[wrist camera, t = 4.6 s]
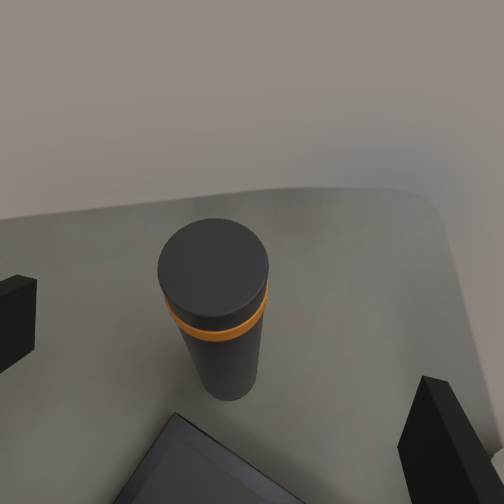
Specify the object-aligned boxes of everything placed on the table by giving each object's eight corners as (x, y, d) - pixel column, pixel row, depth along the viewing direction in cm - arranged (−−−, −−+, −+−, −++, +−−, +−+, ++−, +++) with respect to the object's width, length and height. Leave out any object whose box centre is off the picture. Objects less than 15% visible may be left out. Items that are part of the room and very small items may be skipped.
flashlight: (189, 381, 20) (130, 280, 10) (221, 334, 22) (199, 199, 11) (237, 413, 20) (229, 342, 9) (267, 363, 21) (291, 248, 10)
